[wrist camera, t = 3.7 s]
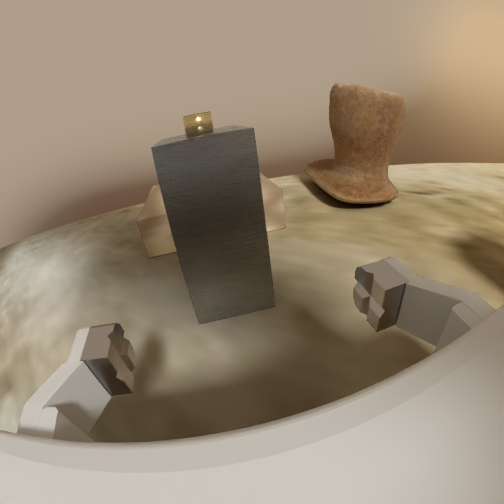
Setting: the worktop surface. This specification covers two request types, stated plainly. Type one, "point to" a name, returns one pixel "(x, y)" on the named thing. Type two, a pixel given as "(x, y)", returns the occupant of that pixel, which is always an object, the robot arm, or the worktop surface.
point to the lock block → (217, 217)
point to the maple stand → (158, 228)
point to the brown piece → (360, 144)
